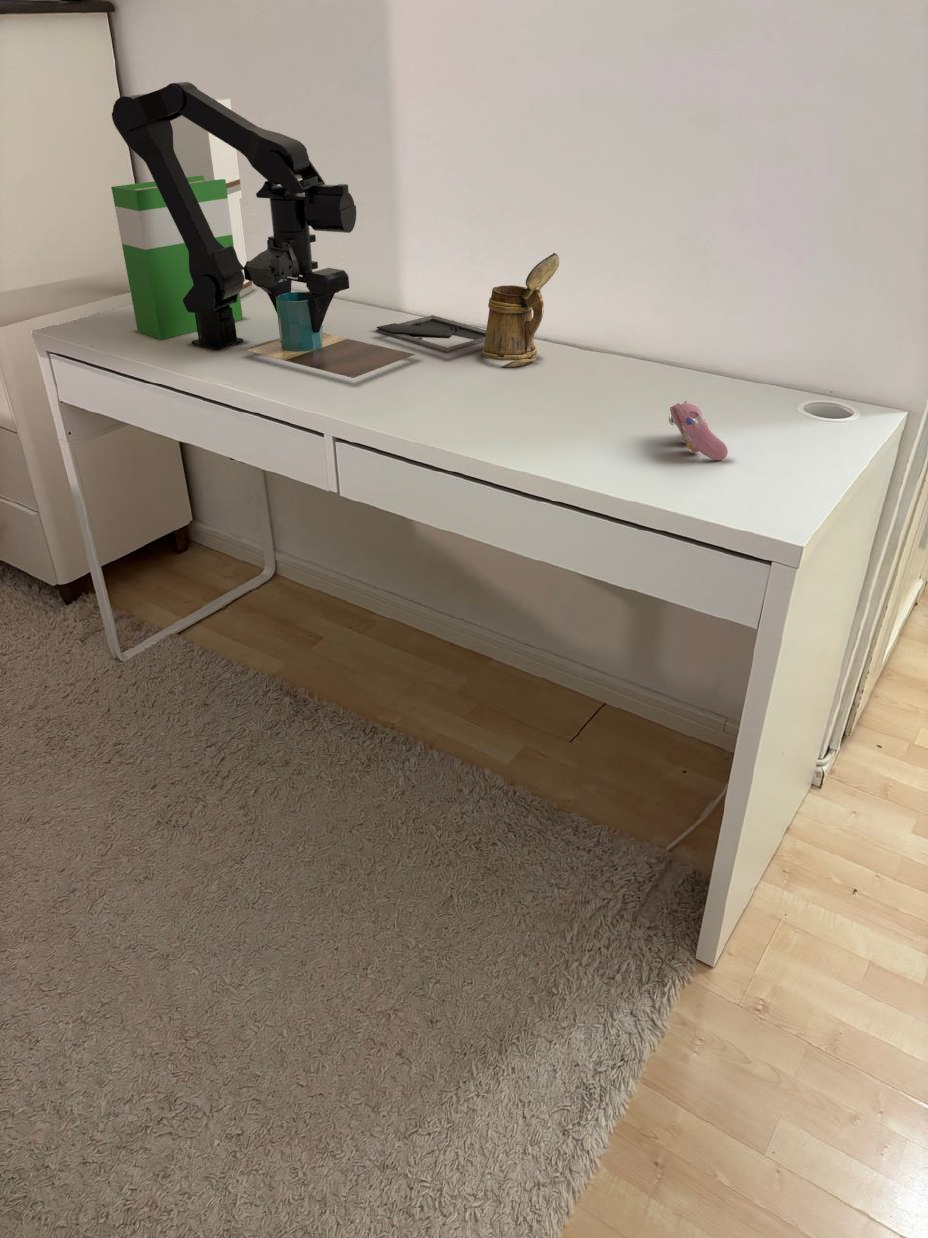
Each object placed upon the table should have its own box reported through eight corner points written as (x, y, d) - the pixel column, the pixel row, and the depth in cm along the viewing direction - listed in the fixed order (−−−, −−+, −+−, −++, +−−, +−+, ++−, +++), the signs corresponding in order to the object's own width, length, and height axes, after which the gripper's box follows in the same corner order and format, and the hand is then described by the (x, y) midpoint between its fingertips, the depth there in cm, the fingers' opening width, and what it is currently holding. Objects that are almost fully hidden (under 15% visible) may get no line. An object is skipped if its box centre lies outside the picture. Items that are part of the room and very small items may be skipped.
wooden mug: (531, 377, 148) (535, 257, 139) (470, 359, 157) (470, 244, 147) (567, 365, 154) (574, 248, 144) (507, 347, 162) (509, 236, 152)
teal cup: (272, 346, 159) (267, 297, 154) (302, 337, 163) (297, 289, 159) (302, 353, 155) (297, 303, 151) (331, 344, 160) (327, 295, 156)
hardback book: (219, 312, 182) (200, 175, 169) (242, 319, 178) (225, 179, 165) (137, 331, 171) (111, 186, 158) (160, 339, 167) (135, 191, 154)
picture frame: (376, 338, 167) (446, 360, 156) (376, 326, 166) (446, 348, 155) (432, 323, 175) (502, 343, 164) (432, 312, 174) (503, 332, 163)
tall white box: (252, 290, 197) (230, 98, 178) (230, 302, 188) (204, 102, 169) (202, 287, 199) (174, 97, 180) (177, 299, 190) (146, 101, 172)
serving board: (246, 357, 158) (245, 350, 157) (310, 336, 168) (309, 329, 167) (354, 385, 146) (353, 377, 145) (415, 361, 156) (415, 353, 155)
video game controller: (677, 445, 129) (659, 401, 125) (708, 429, 128) (691, 385, 125) (698, 474, 121) (679, 428, 117) (732, 458, 120) (714, 411, 116)
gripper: (211, 230, 149) (225, 330, 157) (296, 244, 139) (306, 349, 148) (264, 220, 156) (274, 316, 165) (348, 232, 147) (354, 333, 155)
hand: (300, 328), depth 158 cm, fingers closed on teal cup, 7 cm apart
